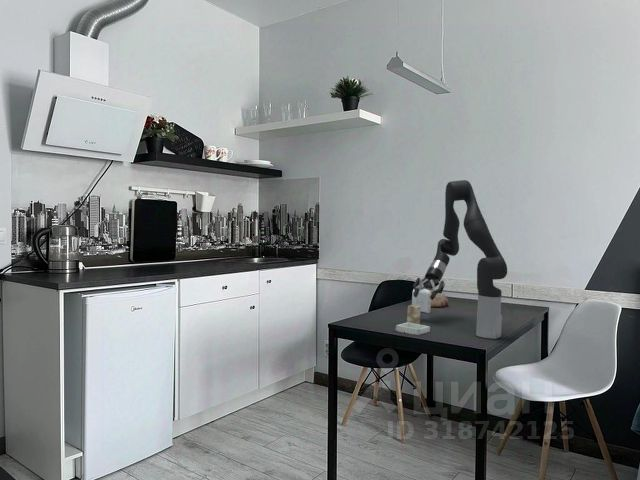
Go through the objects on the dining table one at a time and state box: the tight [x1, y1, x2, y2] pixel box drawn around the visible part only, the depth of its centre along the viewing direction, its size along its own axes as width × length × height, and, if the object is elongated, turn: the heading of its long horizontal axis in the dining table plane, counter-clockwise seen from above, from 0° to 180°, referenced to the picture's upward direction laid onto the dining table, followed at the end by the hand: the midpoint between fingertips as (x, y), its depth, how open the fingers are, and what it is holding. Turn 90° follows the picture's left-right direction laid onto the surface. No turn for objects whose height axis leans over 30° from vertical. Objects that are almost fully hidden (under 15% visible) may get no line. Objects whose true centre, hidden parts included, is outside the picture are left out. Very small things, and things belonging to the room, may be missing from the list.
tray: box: [395, 321, 431, 336], centre depth 215 cm, size 11×10×2 cm
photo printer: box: [411, 288, 432, 314], centre depth 265 cm, size 10×4×12 cm, turn 56°
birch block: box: [406, 304, 421, 325], centre depth 227 cm, size 4×4×9 cm
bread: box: [427, 289, 449, 309], centre depth 288 cm, size 16×20×10 cm
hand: (422, 297), depth 232 cm, fingers open, 8 cm apart
